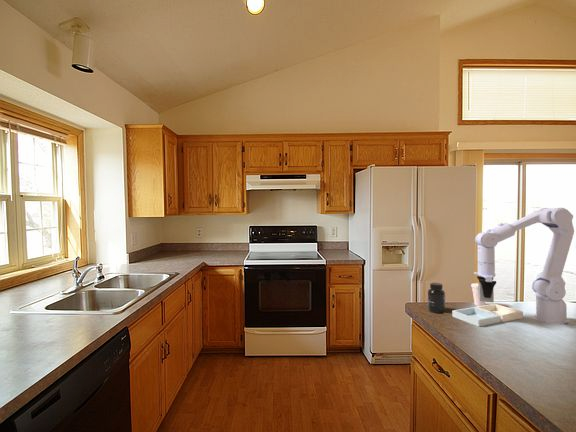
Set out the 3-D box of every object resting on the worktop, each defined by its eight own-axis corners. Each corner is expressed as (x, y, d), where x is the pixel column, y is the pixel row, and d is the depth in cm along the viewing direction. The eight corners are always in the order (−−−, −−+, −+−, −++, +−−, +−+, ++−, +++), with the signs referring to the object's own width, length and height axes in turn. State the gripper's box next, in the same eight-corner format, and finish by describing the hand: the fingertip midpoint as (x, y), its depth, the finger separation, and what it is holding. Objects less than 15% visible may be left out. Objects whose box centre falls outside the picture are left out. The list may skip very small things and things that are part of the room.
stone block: (478, 298, 120) (478, 282, 120) (491, 299, 118) (491, 283, 118) (480, 301, 116) (479, 285, 116) (493, 302, 114) (493, 286, 114)
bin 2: (494, 310, 127) (494, 303, 126) (523, 319, 116) (522, 311, 116) (475, 313, 123) (475, 306, 123) (502, 323, 112) (502, 315, 112)
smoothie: (490, 308, 129) (490, 277, 129) (474, 307, 130) (474, 276, 130) (484, 304, 135) (483, 274, 135) (469, 303, 137) (468, 273, 137)
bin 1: (473, 314, 123) (473, 307, 123) (500, 323, 112) (500, 315, 112) (452, 317, 119) (452, 310, 119) (478, 328, 108) (478, 320, 108)
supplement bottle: (426, 311, 127) (426, 284, 127) (429, 307, 132) (428, 281, 132) (444, 314, 123) (443, 286, 123) (446, 310, 128) (445, 283, 128)
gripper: (472, 259, 125) (472, 290, 126) (476, 264, 112) (476, 299, 113) (492, 260, 122) (492, 292, 122) (498, 265, 109) (499, 301, 109)
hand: (486, 295), depth 117 cm, fingers closed on stone block, 4 cm apart
